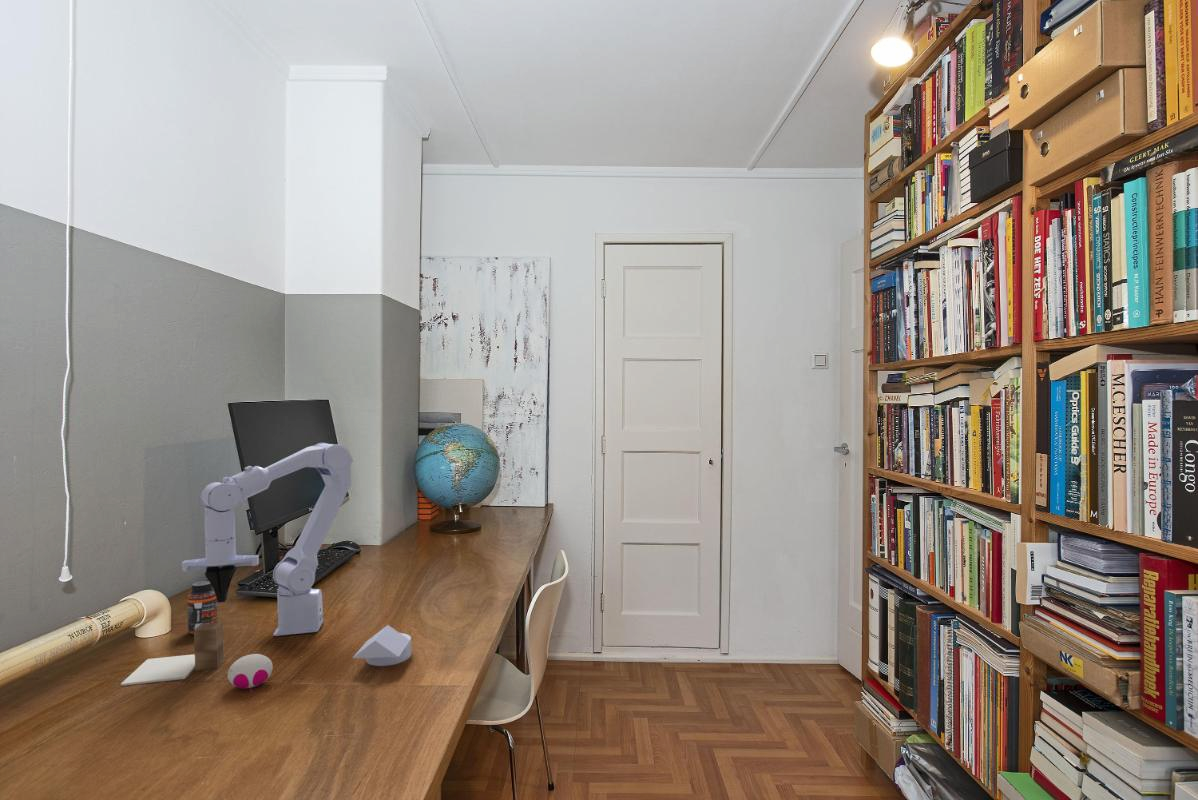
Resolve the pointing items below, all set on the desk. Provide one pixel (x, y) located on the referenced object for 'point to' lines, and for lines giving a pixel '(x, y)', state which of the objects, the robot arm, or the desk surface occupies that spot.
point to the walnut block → (208, 645)
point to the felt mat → (162, 670)
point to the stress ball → (250, 671)
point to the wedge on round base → (386, 648)
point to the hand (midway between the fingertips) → (222, 600)
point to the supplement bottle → (201, 605)
